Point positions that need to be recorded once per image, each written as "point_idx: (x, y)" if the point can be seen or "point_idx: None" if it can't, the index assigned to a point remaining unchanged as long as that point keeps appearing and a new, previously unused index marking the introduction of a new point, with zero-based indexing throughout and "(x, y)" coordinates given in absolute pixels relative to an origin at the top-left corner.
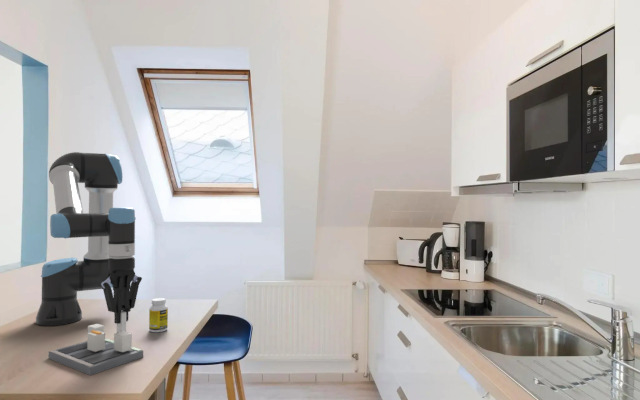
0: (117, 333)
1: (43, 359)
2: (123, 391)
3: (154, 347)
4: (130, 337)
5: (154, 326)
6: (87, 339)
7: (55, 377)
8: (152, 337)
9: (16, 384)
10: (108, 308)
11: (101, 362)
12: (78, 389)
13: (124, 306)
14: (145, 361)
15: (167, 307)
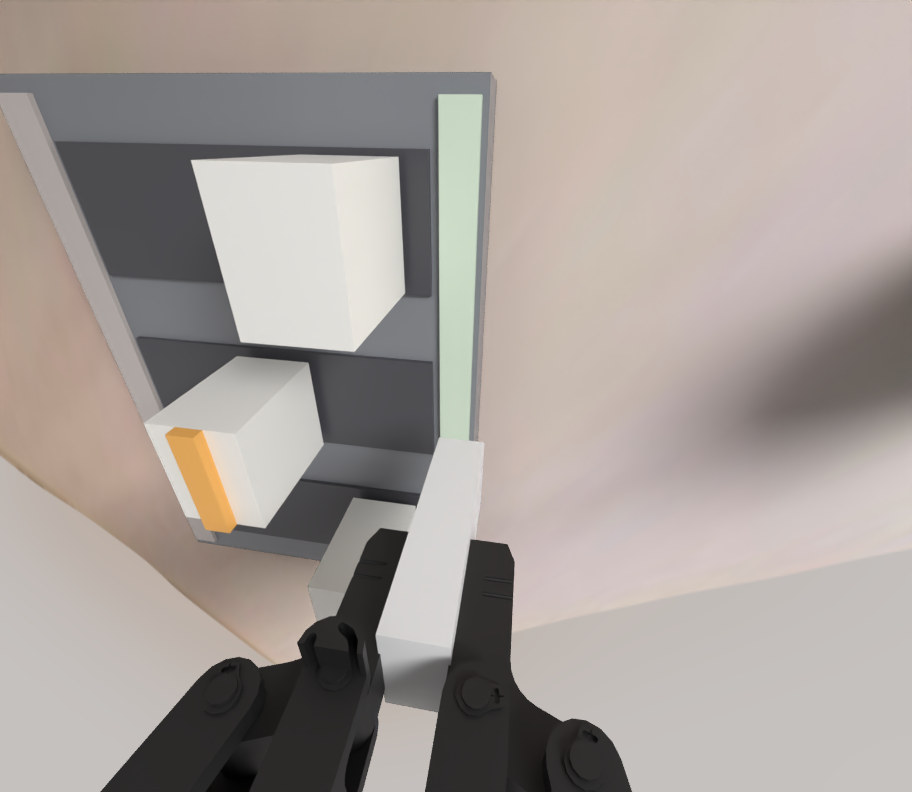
0: (327, 599)
1: (16, 64)
2: (264, 650)
3: (614, 515)
4: None
5: None
6: (186, 392)
7: (98, 423)
8: (826, 367)
9: None
10: (176, 726)
11: (253, 536)
12: (163, 560)
13: (475, 760)
14: None
15: None
